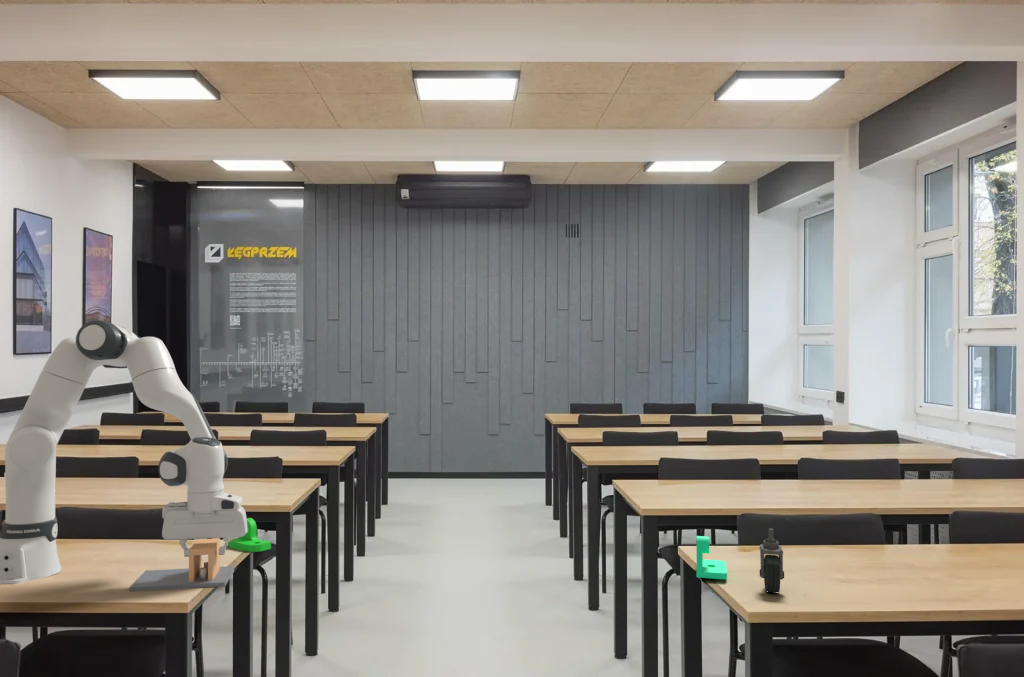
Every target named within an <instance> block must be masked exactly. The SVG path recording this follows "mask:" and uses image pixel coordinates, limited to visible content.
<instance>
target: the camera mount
mask: <svg viewBox="0 0 1024 677" xmlns="http://www.w3.org/2000/svg"><path fill="white" fill-rule="evenodd" d="M703 554H708V555H709V554H710V536H704V535H702V536H701V535H696V578H698V579H699V578H702V579H715V580H728V569H727V564H726V561H725V560H719V559H706V558H705V559H704V558H703V556H704V555H703Z"/></svg>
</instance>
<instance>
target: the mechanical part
mask: <svg viewBox="0 0 1024 677" xmlns="http://www.w3.org/2000/svg"><path fill="white" fill-rule="evenodd" d="M246 518H247V532H246V534H245V535H244V536H243V537H235V538H234V539H230V541H229V543H228V544H227V547H228V548H229V549H234V550H239V551H244V552H249V553H258V552H263V551H267V550H271V549H272V542H271V541H267V540H264V539H259V538H258V535H257V530H258V527H257V523H256V521H255V520H254V518H252V517H246Z"/></svg>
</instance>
